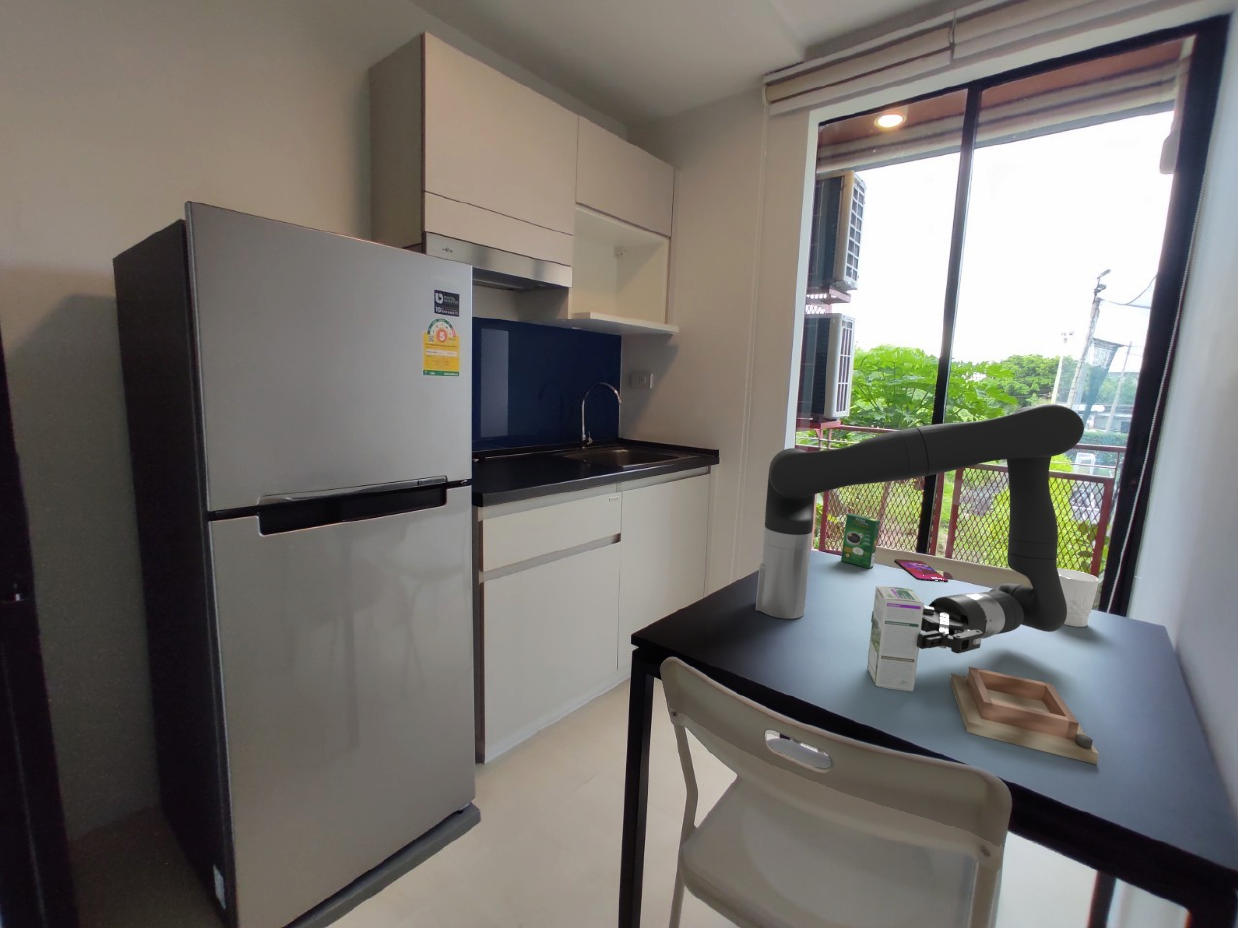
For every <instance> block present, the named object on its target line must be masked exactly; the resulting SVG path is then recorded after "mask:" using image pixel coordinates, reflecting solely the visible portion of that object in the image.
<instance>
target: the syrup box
mask: <svg viewBox="0 0 1238 928" xmlns="http://www.w3.org/2000/svg"><path fill="white" fill-rule="evenodd" d="M924 606H925V603H924V602H923V601H922V600H921V598H920V597H919V596H918V595H917V594H916V593H915V592H914V590H913V589H909V588H903V587H898V586H883V585H882V586H879V585H876V587H875V593H874V599H873V610H872V611H873V618H872V617H871V619H872V622H871V628H870V637H869V647H868V648H869V649H868V656H867V657H868V658H867V665H866V667H867V668H866V669H867V671H868V674H869V675H870V677H871V679H872V681H873V684H874V685H875V686H876V687H879V688H883V689H889V690H896V691H897V690H898V691H905V692H914V689H915V681H916V674H917V668H918V667H917V666H918V660H919V649H920V648H919V647H917V638H918V635H919V634H920V633H922V632H921V631H922V630H921V624H922V615H923V607H924Z"/></svg>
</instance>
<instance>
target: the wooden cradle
mask: <svg viewBox="0 0 1238 928" xmlns="http://www.w3.org/2000/svg"><path fill="white" fill-rule="evenodd" d="M949 683H950V686H951V689H952V692H953V695H954V699H955V701H956V704H957V706H958V710H959V713H960V715H961V718H962V721H963V723H964V727H965V730H966V732H967V733H969V734H972V735H975V736H981V737H985V738H988V739H993V740H997V741H1001V742H1005V743H1010V744H1013V745H1018V746H1021V747H1026V748H1029V749H1033V750H1037V751H1041V752H1045V753H1048V754H1053V755H1058V756H1061V757H1064V758H1070V759H1074V760H1077V761H1081V762H1086V763H1090V764H1094V765H1098V759H1099V754H1100V753H1099V752H1098V750H1097V749H1096V747H1095V745H1093V739H1092V738H1091V737H1090V736H1088V735H1087V734H1086V733H1085V731H1084V729H1083V728H1082V727H1081V725H1080V723H1079V721H1078V720H1077V719H1076V717H1075V715H1074V714H1073V713H1072V711H1071V710H1070V708H1069V707H1068V706H1067V704H1066V702H1065V701H1064V700H1063V698H1062V696H1061V695H1060V694H1059V693H1058V691H1057V689H1056V688H1055V687H1054V685H1053V683H1048V682H1043V681H1039V680H1035V679H1029V678H1024V677H1019V676H1016V675H1010V674H1007V673H1000V672H998V671H997V672H996V671H991V670H986V669H982V668H977V667H972V666H968V672H967V676H965V675H961V674H955V673H951V675H950V680H949Z"/></svg>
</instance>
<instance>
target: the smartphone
mask: <svg viewBox="0 0 1238 928" xmlns="http://www.w3.org/2000/svg"><path fill="white" fill-rule="evenodd" d="M894 563H895V564H897V565H898V566H899V567H901V568H902V570H904V571H905V572H907V573H908V575H910V576H912V577H913V578H914V579H915V580H918V581H925V582H926V581H927V582H929V581H930V582H936V581H935V580H938V581H937V583H939V581H944V582H943V583H948V582H949V579H947V578H946V577H945V576H943V575H942V574H941V573H939V572H938V571H937V570H935V569H933V568H932V567H931V566H930V565H929V564H927V563H926V562H925V561H922V560H912V559H902V558H901V559H898V558H897V559H894ZM923 575H924V576H923ZM931 577H937V578H942V580H941V579H932V578H931ZM943 579H944V580H943Z"/></svg>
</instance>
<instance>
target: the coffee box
mask: <svg viewBox="0 0 1238 928" xmlns="http://www.w3.org/2000/svg"><path fill="white" fill-rule="evenodd" d="M880 524H881V520H880V519H878V518H873V517H869V516H865V515H864V516H863V515H859V514H855V513H847V514H846V519H845V527H844V534H843V542H842V550H841V557H840V561H841V562H844V563H847V564H852V565H855V566H859V567H862V568H866V569H869V570H870V569H872V568H873V567H874V564H875V557H876V550H877V545H878V538H879V537H878V536H879V531H880V526H881V525H880Z"/></svg>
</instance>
